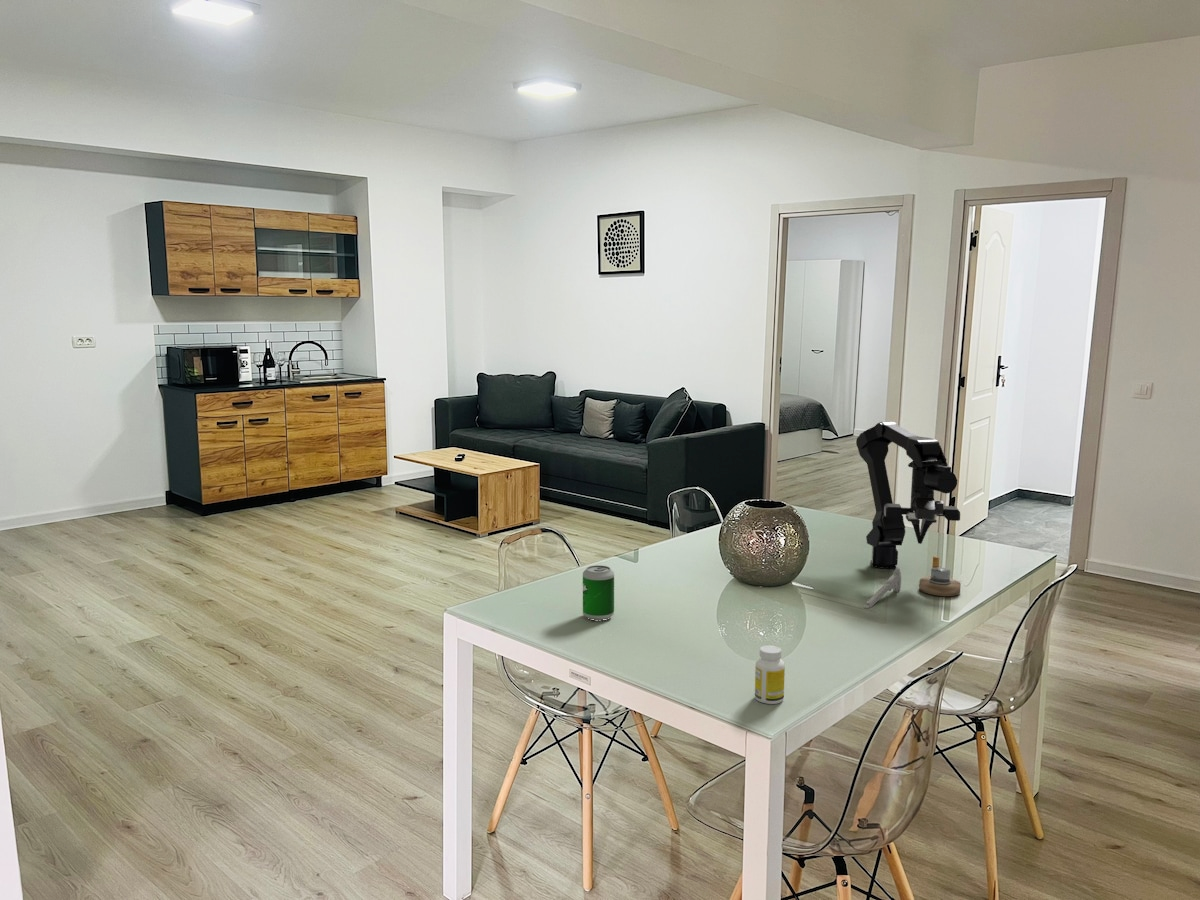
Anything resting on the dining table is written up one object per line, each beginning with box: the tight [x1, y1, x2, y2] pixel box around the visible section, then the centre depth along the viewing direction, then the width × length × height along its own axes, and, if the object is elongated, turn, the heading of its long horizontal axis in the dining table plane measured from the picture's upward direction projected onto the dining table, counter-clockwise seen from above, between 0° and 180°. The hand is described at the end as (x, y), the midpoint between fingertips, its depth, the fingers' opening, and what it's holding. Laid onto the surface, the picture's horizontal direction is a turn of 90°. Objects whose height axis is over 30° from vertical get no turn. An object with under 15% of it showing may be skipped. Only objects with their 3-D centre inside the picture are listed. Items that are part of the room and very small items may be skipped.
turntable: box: [919, 555, 962, 597], centre depth 235 cm, size 14×10×7 cm
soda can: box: [582, 564, 615, 620], centre depth 213 cm, size 8×8×12 cm
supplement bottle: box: [754, 645, 786, 705], centre depth 168 cm, size 5×5×10 cm
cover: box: [930, 567, 951, 585], centre depth 233 cm, size 5×5×3 cm
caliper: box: [863, 567, 902, 609], centre depth 227 cm, size 20×1×6 cm, turn 140°
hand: (919, 543), depth 240 cm, fingers closed
